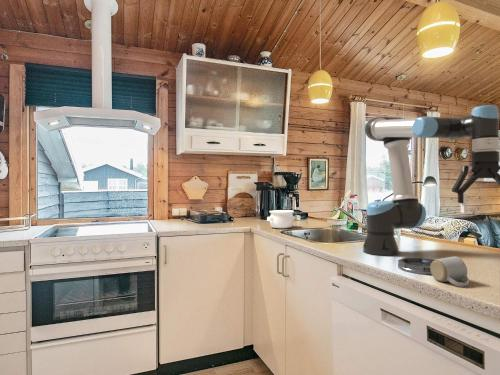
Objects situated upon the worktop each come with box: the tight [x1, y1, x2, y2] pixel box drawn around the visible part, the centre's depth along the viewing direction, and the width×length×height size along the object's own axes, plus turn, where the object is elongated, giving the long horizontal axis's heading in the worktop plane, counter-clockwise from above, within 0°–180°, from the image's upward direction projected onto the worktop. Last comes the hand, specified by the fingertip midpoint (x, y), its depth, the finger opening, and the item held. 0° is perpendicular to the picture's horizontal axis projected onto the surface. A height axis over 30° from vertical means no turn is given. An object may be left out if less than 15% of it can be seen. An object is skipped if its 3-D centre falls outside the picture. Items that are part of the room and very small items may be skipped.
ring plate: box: [397, 256, 437, 276], centre depth 120 cm, size 17×17×2 cm
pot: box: [266, 209, 296, 229], centre depth 235 cm, size 22×17×12 cm
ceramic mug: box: [430, 256, 470, 288], centre depth 104 cm, size 11×8×8 cm
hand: (485, 212), depth 112 cm, fingers open, 13 cm apart
